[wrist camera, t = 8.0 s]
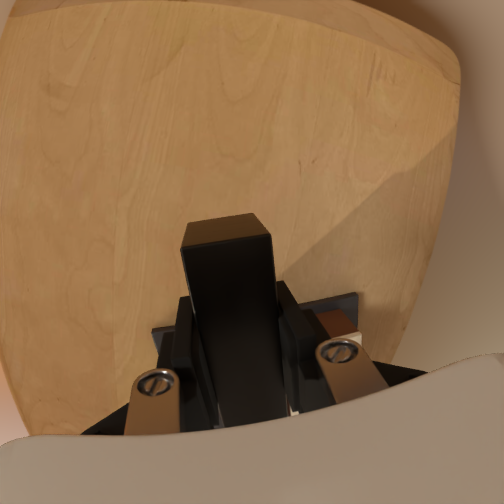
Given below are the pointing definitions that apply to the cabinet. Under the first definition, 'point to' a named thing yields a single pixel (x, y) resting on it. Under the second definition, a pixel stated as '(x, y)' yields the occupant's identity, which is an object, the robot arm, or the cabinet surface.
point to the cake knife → (237, 315)
